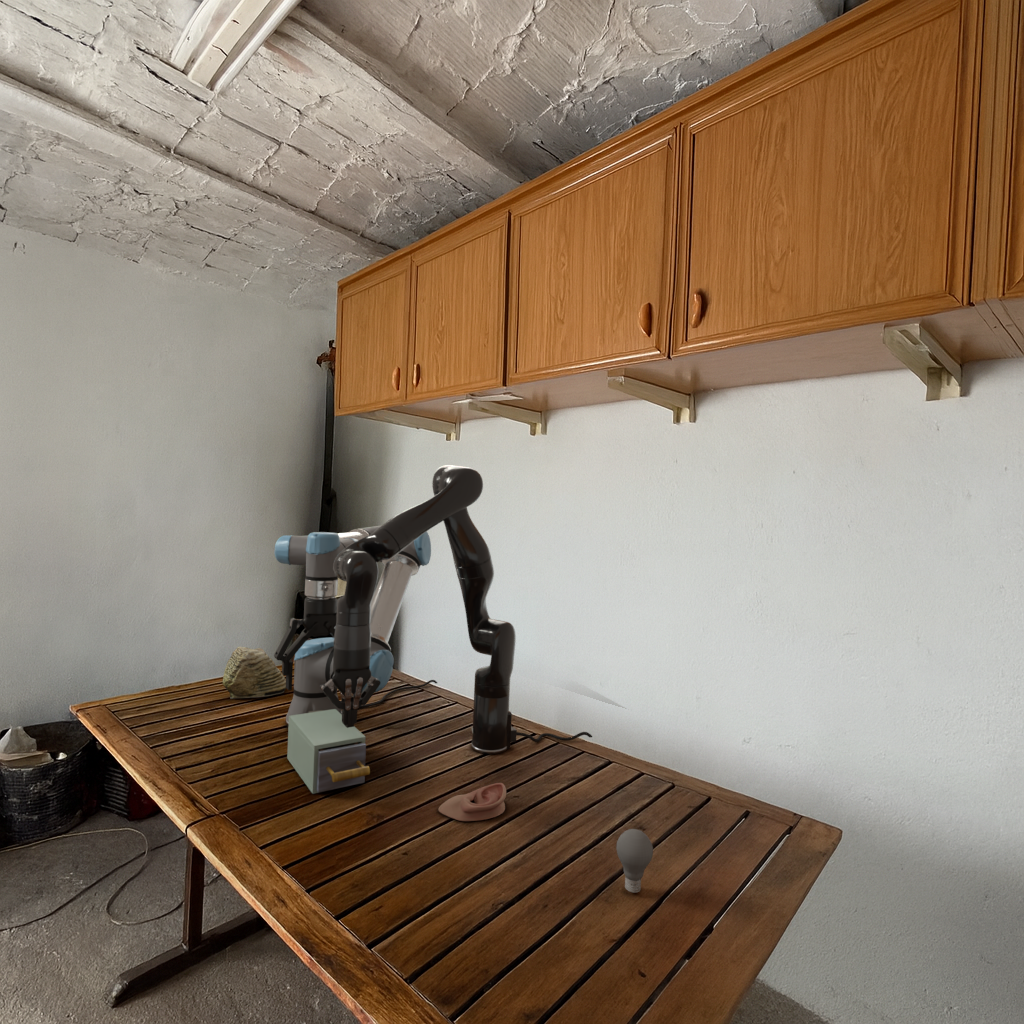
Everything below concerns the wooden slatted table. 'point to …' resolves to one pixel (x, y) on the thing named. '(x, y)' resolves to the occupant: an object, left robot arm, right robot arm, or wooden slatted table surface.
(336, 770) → the drawer
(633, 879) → the light bulb
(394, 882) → the wooden slatted table surface
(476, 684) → the right robot arm
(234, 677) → the fossil
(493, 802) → the anatomical model
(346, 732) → the cabinet
